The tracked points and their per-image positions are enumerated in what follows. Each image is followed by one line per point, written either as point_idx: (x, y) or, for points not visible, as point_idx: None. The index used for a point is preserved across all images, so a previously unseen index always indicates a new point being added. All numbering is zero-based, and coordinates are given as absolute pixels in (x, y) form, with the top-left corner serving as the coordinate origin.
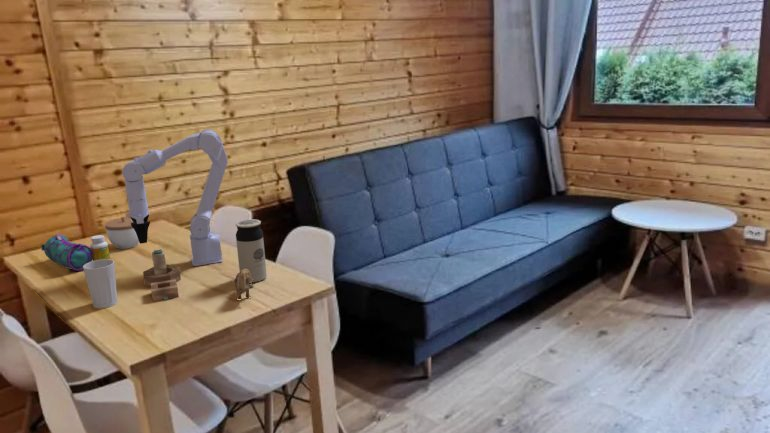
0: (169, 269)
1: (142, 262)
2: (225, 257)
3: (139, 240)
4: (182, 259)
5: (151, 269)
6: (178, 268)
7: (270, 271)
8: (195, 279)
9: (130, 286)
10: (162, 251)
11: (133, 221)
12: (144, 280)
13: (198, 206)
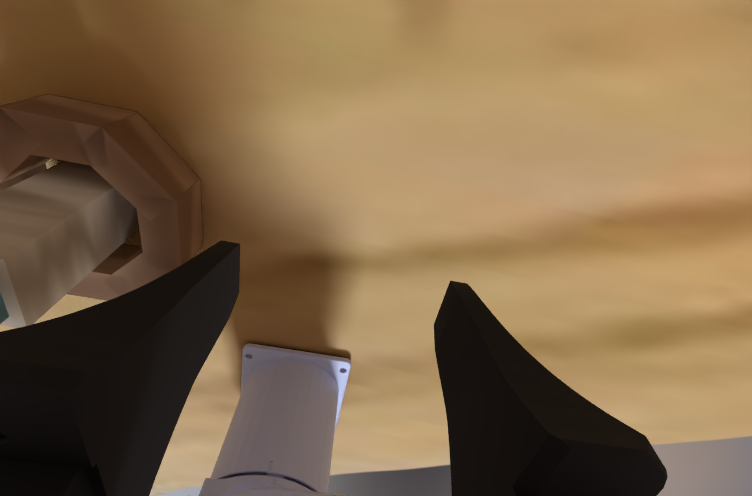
0: (129, 259)
1: (489, 180)
2: None
3: (200, 256)
4: (382, 334)
5: (129, 181)
6: (89, 295)
7: None
8: (68, 306)
9: (59, 7)
10: (3, 317)
11: (517, 401)
12: (20, 102)
13: None
